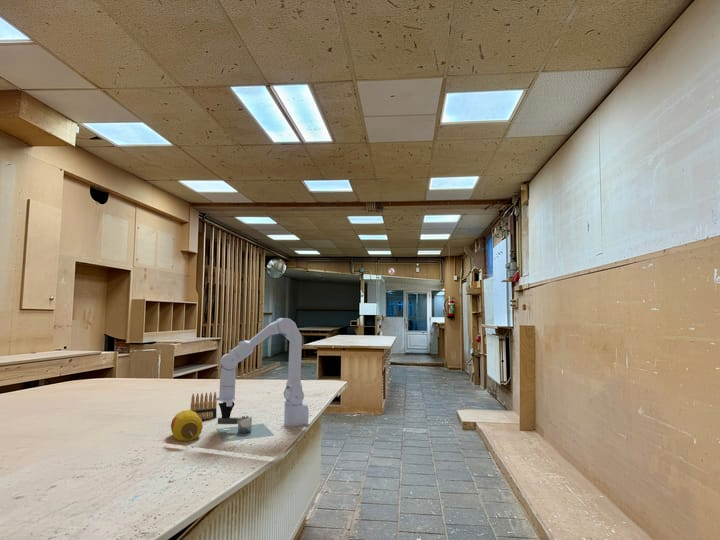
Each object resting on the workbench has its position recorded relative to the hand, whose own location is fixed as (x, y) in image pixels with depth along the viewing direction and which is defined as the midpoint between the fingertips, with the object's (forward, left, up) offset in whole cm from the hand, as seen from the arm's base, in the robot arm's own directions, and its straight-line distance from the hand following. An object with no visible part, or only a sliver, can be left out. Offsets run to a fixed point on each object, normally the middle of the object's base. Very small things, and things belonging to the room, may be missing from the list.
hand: (225, 422), depth 154 cm
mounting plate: (-6, +5, -4) cm, 9 cm away
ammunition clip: (+6, -23, -5) cm, 24 cm away
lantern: (+14, +2, -5) cm, 15 cm away
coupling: (-3, +3, -3) cm, 5 cm away
